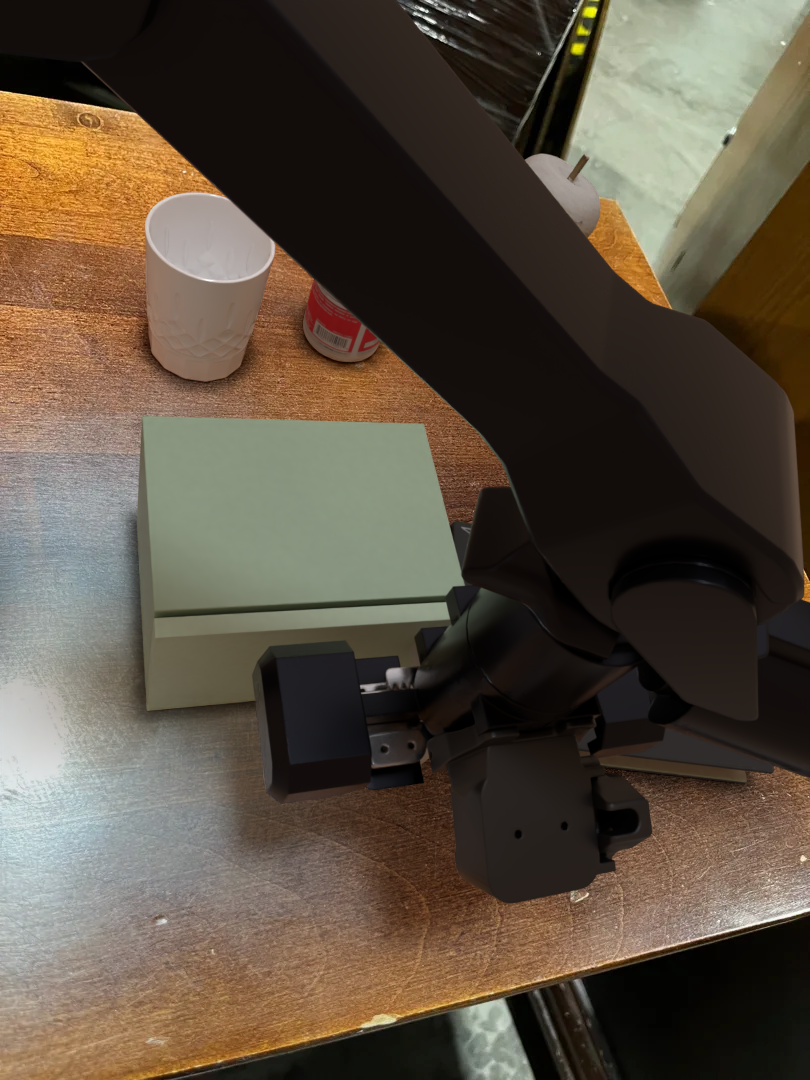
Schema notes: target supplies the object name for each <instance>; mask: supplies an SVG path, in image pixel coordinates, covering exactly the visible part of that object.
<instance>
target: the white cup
mask: <svg viewBox="0 0 810 1080" xmlns="http://www.w3.org/2000/svg"><path fill="white" fill-rule="evenodd" d="M144 244H145V245H144V251H145V252H144V258H145V259H144V260H145V261H144V262H145V263H144V264H145V265H144V268H145V269H144V270H145V271H144V273H145V278H144V279H145V297H146V317H147V320H148V340H149V345H150V346H149V347H150V351H151V354H152V356H153V357H154V358H155V359H156V360H157V362H159V364H160V365H161V366H162V368H164V370H166V371H169V372H171V373H173V374H174V375H176V376H178V377H180V378H182V379H185V380H192V381H199V382H204V383H205V382H206V383H207V382H211V381H215V380H221V379H225V378H227V377H229V376H230V375H231V374H232V373H234V372H235V371H236V370H238V369H239V368H240V367H241V365H242V363H243V361H244V357H245V355H246V351H247V348H248V345H249V340H250V338H251V337H252V336H253V332H254V329H255V326H256V322H257V319H258V316H259V313H260V312H259V311H260V309H261V306H262V303H263V299H264V295H265V292H266V288H267V283H268V280H269V276H270V273H271V268H272V265H273V262H274V258H275V254H276V243H275V242H274V241H272V240H271V239H270V238H269V237H268V236H267V235H266V234H265V233H264V232H263V231H262V230H261V229H260V228H259V227H257V226H256V225H255V224H254V223H253V222H252V221H251V220H250V219H249V218H248V217H247V216H246V215H245V214H244V213H242V212H241V211H240V210H239V209H238V208H237V207H236V206H235V205H234V204H233V203H232V202H231V201H230V200H229V199H227V198H226V197H225V196H224V195H219V194H214V193H209V192H197V191H194V192H192V191H190V192H181V193H176V194H173V195H170V196H167V197H165V198H163V199H162V200H159V202H157V203H155V205H153V206H152V208H150V211H148V214H147V215H146V218H145V222H144Z"/></svg>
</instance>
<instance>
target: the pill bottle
mask: <svg viewBox="0 0 810 1080" xmlns="http://www.w3.org/2000/svg"><path fill="white" fill-rule="evenodd" d="M312 280H313V281H312V284H311V287H310V291H309V296H308V300H307V303H306V307H305V311H304V315H303V319H302V320H303V321H302V328H303V333H304V335H305V338H306V339H307V341H308V343H309V344H310V345H311V346H312V347H313V348H314V349H315V351H317V352H318V353H319V354H321V355H323V356H325V357H327V358H329V359H331V360H334V361H338V362H345V363H353V362H354V363H356V362H361V361H363V360H366V359H368V358H370V357H371V356H372V355H373V354H374V353H375V352H376V351H377V350H378V348H379V346H380V344H381V341H380V340H379V339H377V338H376V337H375V336H374V335H373V334H372V333H371V332H370V331H369V330H368V329H367V328H366V327H365V326H364V325H362V324H361V323H360V322H359V321H358V320H357V319H356V318H355V317H354V316H353V315H352V314H351V313H350V312H349V311H347V310H346V309H345V308H344V307H343V306H342V305H341V304H340V303H339V302H338V301H337V300H336V299H335V298H334V297H332V296H331V295H330V294H329V293H328V292H327V291H326V290H325V289H324V288H323V287H322V286H321V285H320V284H319V283H317V282H316V281H315V280H314V279H312Z"/></svg>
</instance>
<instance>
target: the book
mask: <svg viewBox="0 0 810 1080" xmlns="http://www.w3.org/2000/svg"><path fill="white" fill-rule="evenodd" d="M449 525H450V529H451V533H452V537H453V541H454V545H455V549H456V553H457V556H458V560H459V564H460V568H461V570H462V566H463V561H464V557H465V552H466V548H467V543H468V539H469V534H470V530H471V526H472V523H470V522H465V521H460V520H454V521H453V522H452V523H451V524H449ZM463 580H464V579H463ZM464 584H465V586H468V585H473V584H470V583H468V582H466V581H465V580H464ZM595 738H597V737H596V734H595V731H594V728H593V729H591V730H590V731H588V732H587V733H586V735H585V736H584V737H583V739H582V740H581V741H580V742H578V743H577V744H578V748H579V753H580V757H581V756H588V755H590V752H589V749H588V745H587V743H589V742H590V741H592V740H594V739H595ZM598 759H599V762H600V765H603V766H604V768H606V769H607V768H608V769H615V770H616V769H617V770H626V771H632V772H633V771H634V772H642V773H651V774H658V775H666V776H667V775H668V776H674V777H675V776H676V777H677V776H678V777H685V778H691V779H692V778H693V779H700V780H702V779H703V780H711V781H720V782H726V783H734V784H735V783H736V784H744V785H745V784H747V782H748V778H747V774H746V772H752V773H760V774H768V775H773V774H774V773H775V766H773V765H770V764H767V763H764V762H761V761H758V760H756V759H753V758H750V757H747V756H744V755H742V754H739V753H736V752H733V751H730V750H728V749H725V748H722V747H719V746H716V745H713V744H711V743H708V742H705V741H702V740H699V739H697V738H694V737H691V736H688V735H685V734H682V733H680V732H677V731H674V730H671V729H668V728H666V731H665V735H664V739H663V741H662V742H660V743H658V744H656V745H654V746H652V747H650V748H648V749H646V750H644V751H642V752H636V753H630V754H623V755H616V756H609V757H602V758H598Z"/></svg>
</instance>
